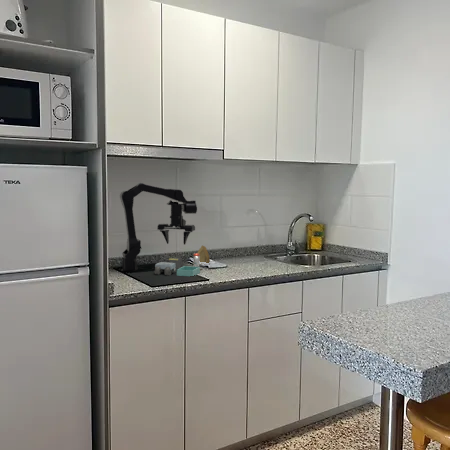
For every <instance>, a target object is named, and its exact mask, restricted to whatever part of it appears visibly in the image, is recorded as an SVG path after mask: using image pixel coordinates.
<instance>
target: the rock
mask: <svg viewBox="0 0 450 450" xmlns="http://www.w3.org/2000/svg"><path fill="white" fill-rule="evenodd" d="M196 253H199V254H200V259H199V261H200V262H206V263H209V262H211V260H210V259H211V258H210V254H209V251H208V249H207V247H206V246H205V245H201V247H200V248H199V249H198V251H197V252H196Z"/></svg>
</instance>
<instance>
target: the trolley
mask: <svg viewBox="0 0 450 450" xmlns="http://www.w3.org/2000/svg"><path fill="white" fill-rule="evenodd" d="M154 267H155V268H154V274H155V275H157V276H158V275H159V276H160V275H161V274H162V273H164V276H171V275H172V274H174V273H177V269H176V263H169V261H168V262H166V261H160V262H157V263H155V265H154Z"/></svg>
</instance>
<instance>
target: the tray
mask: <svg viewBox="0 0 450 450" xmlns="http://www.w3.org/2000/svg"><path fill="white" fill-rule="evenodd" d="M200 269H201V267H200V266H199V267H193V266H190V265H189V266H188V265H182V267H180V268H178V269H176V277H177V276H179V277H190V276H194V275H195V276H197V275H199V274H200V273H201V271H200ZM195 276H194V277H195Z"/></svg>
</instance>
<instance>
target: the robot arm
mask: <svg viewBox="0 0 450 450" xmlns="http://www.w3.org/2000/svg"><path fill="white" fill-rule="evenodd" d="M142 192H144V193H145V192H146V193H148V194H149V193H150V194H153V195H159V196H163V197H165V198H166V199H170V200H169V201H168V202H167V203H166V205H167V206H170V216H169V219H170V224H169V223H158V224H157V230H158V231H159V232H161V235H163V237H164V239H165V242H166V244H167V245H168V244H169V242H170V240H169V238H170V237H169V232H170V230H183V245H186V244H187V241H188V238H189V237H190V234H191V233H193V232H194V231H196V226H195V224H187V220H186V219H184V216H183V213H184V215H185V214H187V215H189V214H193V215H195V214H197V212H198V207H197V203H196V200H187V199H186V197H185V196H184V192H183V191H182V190H181V189H179V188H176V189H175V188H163V187H160V186H154V185H150V184H146V183H143V182H139V183H137V184H136V185H134V186H132V187H131V188H129V189H127V190H122V191H121V192H120V193H119V200H120V202H121V206H122V208H123V211H124V218H125V219H124V220H125V226H126V233H127V234H126V236H127V241H126V248H125V250H124V251H123V252H122V253H121V254H122V260H121V261H122V264H121V265H122V269H120V272H131V273H132V272H135V271H138V270H139V268H138V259H137V257H138V255H140V253H141V250H142V246H141V242H142V241H141V240H140V239H138V238H137V235H136V234H137V233H136V226H135V219H134V210H133V208H134V202H135V201H134V198H136V197H137V196H138V195H139V194H140V193H142ZM172 200H173V201H172Z"/></svg>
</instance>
